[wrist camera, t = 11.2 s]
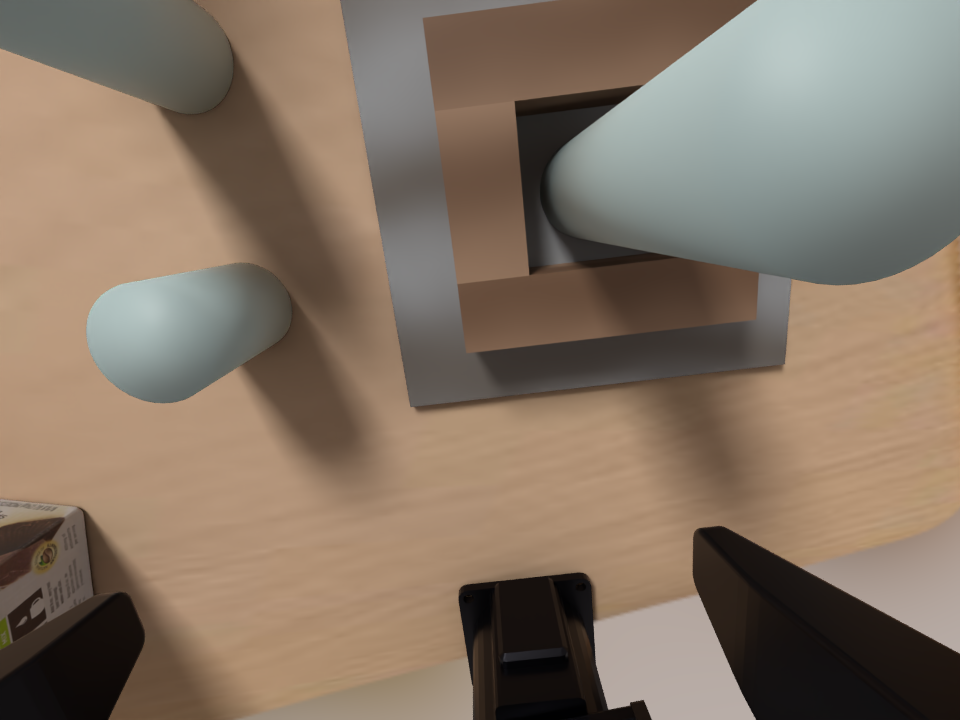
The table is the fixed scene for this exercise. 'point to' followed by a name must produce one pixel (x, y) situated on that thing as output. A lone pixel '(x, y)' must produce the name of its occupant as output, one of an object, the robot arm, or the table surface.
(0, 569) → the coffee box
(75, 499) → the table surface
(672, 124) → the long dowel
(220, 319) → the short dowel
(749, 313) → the socket
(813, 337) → the table surface
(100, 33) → the medium dowel
